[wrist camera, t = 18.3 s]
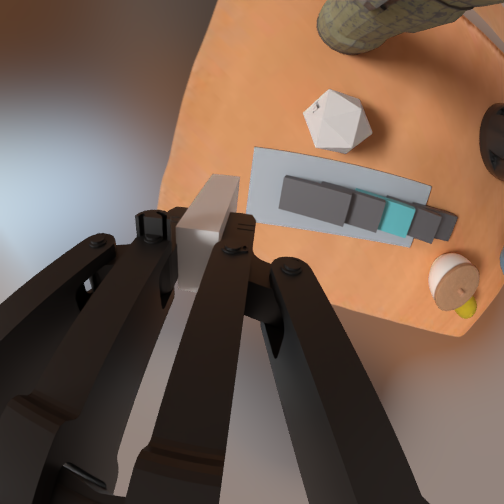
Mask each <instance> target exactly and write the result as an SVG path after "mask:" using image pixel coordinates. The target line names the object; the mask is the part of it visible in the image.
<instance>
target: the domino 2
mask: <svg viewBox="0 0 504 504" xmlns="http://www.w3.org/2000/svg"><path fill="white" fill-rule="evenodd" d="M321 184H324V185H328V186H332V187H335V188H339V189H342V190H346V191H349V192H352V197H351V201H350V204H349V208H348V212H347V215H346V219H345V222H344V223H345V224H349V225H352V226H355V227H358V228H362V229H365V230H368V231H371V232H374V233H376V232H377V229H378V226H379V223H380V220H381V217H382V214H383V211H384V208H385V204H386V201H385V200H384V199H381V198H378V197H375V196H372V195H369V194H365V193H362V192H359V191H356V190H352V189H349V188H345V187H342V186H338V185H335V184H331V183H328V182H324V181H322V183H321Z"/></svg>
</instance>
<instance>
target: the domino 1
mask: <svg viewBox="0 0 504 504" xmlns="http://www.w3.org/2000/svg"><path fill="white" fill-rule="evenodd" d="M351 197H352V192H349V191H346V190H342V189H339V188H335V187H332V186H328V185H324V184H321V183H317V182H313V181H309V180H305V179H301V178H297V177H293V176H289V175H286V176H285V177H284V179H283V185H282V191H281V196H280V202H279V208H278V209H281V210H285V211H289V212H292V213H296V214H300V215H303V216H307V217H310V218H314V219H317V220H321V221H324V222H328V223H331V224H334V225H338V226H341V227H343V226H344V222H345V219H346V215H347V212H348V208H349V204H350V201H351Z"/></svg>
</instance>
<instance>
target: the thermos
mask: <svg viewBox="0 0 504 504" xmlns="http://www.w3.org/2000/svg"><path fill="white" fill-rule="evenodd" d="M499 3H504V0H327V1H326V2H325V4H324V6H323V7H322V9H321V11H320V13H319V17H318V19H317V30H318V33H319V36H320V37H321V39H322V40H323V42H324V43H325V44H327V45H328V46H329V47H330V48H331V49H333V50H335V51H337V52H339V53H343V54H347V55H356V54H360V53H365V52H367V51H370V50H373V49H375V48H378V47H379V46H381V45H382V44H383V43H384V42H385V41H386V40H387V39H388V38H391V37H393V36H396V35H398V34H401V33H403V32H409V33H416V32H419V31H423V30H427V29H430V28H433V27H437V26H440V25H444V24H448V23H452V22H455V21H456V20H457V19H458V18H459V17H461V16H462V15H463V13H464V12H465V11H467V10H471V9H473V8H474V7H481V6H488V5H493V4H499Z"/></svg>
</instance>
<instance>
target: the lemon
mask: <svg viewBox="0 0 504 504" xmlns="http://www.w3.org/2000/svg"><path fill="white" fill-rule="evenodd" d="M476 308H477V303H476V300H475V298H474V296H472V297H471V298H470V299H469V300H468V301H467V302H466V303H465V304H464V305H462V306H461V307H459V308H457V309H455V311H456V313H457V314H458V315H459V316H460V317H462V318H465V319H467V318H470V317H472V316H473V315H474V313H475V312H476Z"/></svg>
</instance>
